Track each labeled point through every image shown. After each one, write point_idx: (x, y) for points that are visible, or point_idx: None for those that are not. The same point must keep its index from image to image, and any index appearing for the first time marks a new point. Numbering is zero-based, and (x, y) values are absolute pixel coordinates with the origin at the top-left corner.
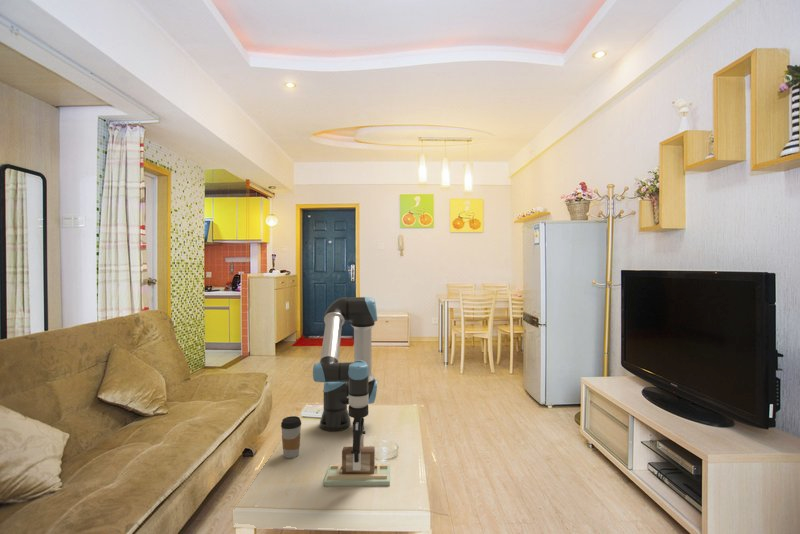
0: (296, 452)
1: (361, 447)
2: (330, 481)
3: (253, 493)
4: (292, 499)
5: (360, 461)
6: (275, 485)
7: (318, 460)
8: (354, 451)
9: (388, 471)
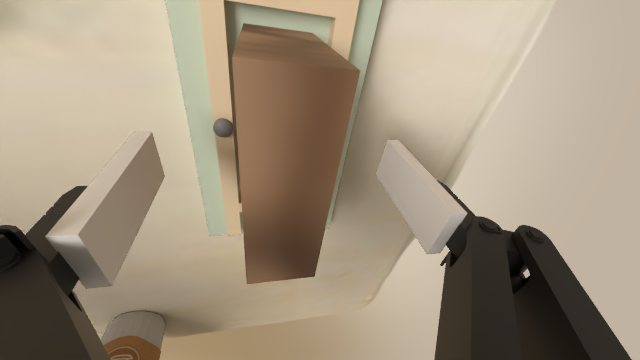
0: (144, 326)
1: (261, 189)
2: (330, 212)
3: (328, 313)
4: (369, 261)
5: (414, 166)
6: (305, 298)
7: (155, 262)
8: (525, 267)
9: None
